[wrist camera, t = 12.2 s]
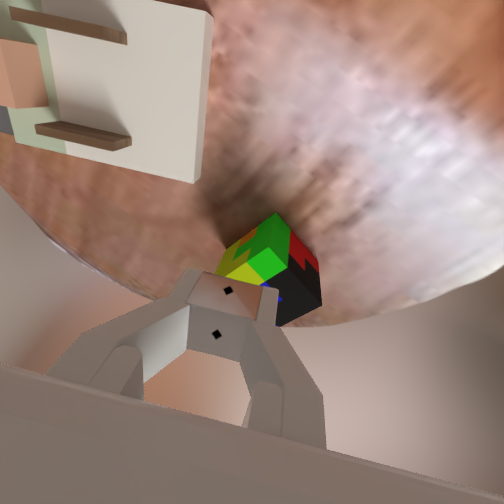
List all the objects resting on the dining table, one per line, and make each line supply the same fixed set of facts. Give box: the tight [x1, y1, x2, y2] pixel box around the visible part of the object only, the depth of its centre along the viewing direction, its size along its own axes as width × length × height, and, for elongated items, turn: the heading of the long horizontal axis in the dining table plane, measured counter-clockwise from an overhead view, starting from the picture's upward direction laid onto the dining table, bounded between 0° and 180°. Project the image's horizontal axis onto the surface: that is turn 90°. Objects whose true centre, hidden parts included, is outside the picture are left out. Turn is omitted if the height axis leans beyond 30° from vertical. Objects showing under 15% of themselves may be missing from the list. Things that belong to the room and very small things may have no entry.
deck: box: [0, 0, 214, 183], centre depth 33 cm, size 17×31×3 cm, turn 80°
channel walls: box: [9, 6, 132, 152], centre depth 29 cm, size 11×9×4 cm
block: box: [0, 37, 49, 109], centre depth 30 cm, size 6×6×4 cm
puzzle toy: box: [215, 213, 322, 327], centre depth 38 cm, size 10×10×10 cm
